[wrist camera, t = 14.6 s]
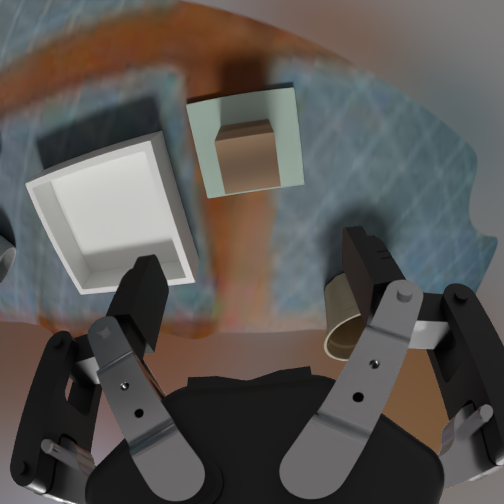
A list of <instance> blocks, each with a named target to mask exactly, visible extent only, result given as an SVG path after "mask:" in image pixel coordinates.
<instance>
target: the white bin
mask: <svg viewBox="0 0 504 504" xmlns="http://www.w3.org/2000/svg"><path fill="white" fill-rule="evenodd" d="M25 184H26V187H27V189H28V192H29V194H30V197H31V199H32V201H33V204H34V206H35V208H36V211H37V213H38V215H39V217H40V219H41V221H42V224H43V226H44V228H45V230H46V232H47V234H48V236H49V238H50V240H51V242H52V244H53V246H54V248H55V250H56V252H57V254H58V255H59V257H60V259H61V261H62V263H63V265H64V266H65V268H66V270H67V272H68V274H69V275H70V277H71V279H72V280H73V282H74V284H75V286H76V287H77V289H78V291H79V292H80V294H92V293H102V292H112V291H116V290H117V288H118V287H119V283H120V281H121V279H122V277H123V276H124V275H125V274H126V272H127V271H128V270H129V269H133V266H134V264H135V262H136V260H137V258H138V257H139V256H145V255H152V254H155V255H156V256H157V258H158V260H159V263H160V265H161V268H162V270H163V272H164V275H165V277H166V280H167V282H168V286H169V285H177V284H186V283H195V280H196V275H197V270H198V265H199V258H198V254H197V251H196V248H195V245H194V242H193V238H192V235H191V232H190V229H189V225H188V222H187V219H186V215H185V212H184V208H183V205H182V202H181V198H180V195H179V191H178V188H177V184H176V180H175V177H174V173H173V170H172V166H171V162H170V159H169V155H168V151H167V147H166V143H165V139H164V136H163V132H162V131H158V132H154V133H150V134H147V135H143V136H139V137H136V138H132V139H129V140H126V141H122V142H119V143H116V144H113V145H110V146H106V147H103V148H100V149H97V150H94V151H92V152H89V153H86V154H83V155H80V156H78V157H75V158H72V159H70V160H67V161H64V162H62V163H59V164H57V165H54V166H52V167H49V168H47V169H45V170H43V171H41V172H40V173H39V174H37V175H36V176H35V177H33V178H32V179H31V180H29V181H28V182H27V183H25Z"/></svg>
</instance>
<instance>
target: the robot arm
mask: <svg viewBox="0 0 504 504" xmlns="http://www.w3.org/2000/svg"><path fill="white" fill-rule="evenodd" d="M342 264H343V269H344V272H345V275H346V277H347V280H348V283H349V285H350V288H351V290H352V293H353V295H354V298H355V301H356V303H357V306H358V309H359V312H360V314H361V317H362V320H363V323H364V325H365V329H364V331H363V333H362V335H361V337H360V339H359V341H358V343H357V344H356V346H355V348H354V350H353V352H352V354H351V356H350V358H349V359H348V361H347V363H346V365H345V367H344V368H343V370H342V372H341V374H340V376H339V377H338V379H337V381H336V380H334V379H332V378H328V377H325V376H320V375H311V369H310V366H308V367H301V368H294V369H286V370H279V371H276V372H273V373H270V374H267V375H264V376H261V377H259V378H255V379H253V380H247V381H245V380H238V379H231V378H225V377H219V376H210V377H188V384H187V386H186V387H183V388H180V389H178V390H176V391H174V392H172V393H170V394H169V395H166V394H165V393H164V391H163V390H162V388H161V387H160V385H159V383H158V382H157V380H156V379H155V377H154V376H153V374H152V372H151V371H150V369H149V368H148V366H147V364H146V362H145V361H144V360H143V356H144V353H154V352H155V347H156V342H157V338H158V334H159V330H160V326H161V322H162V317H163V313H164V309H165V305H166V301H167V298H168V293H169V288H168V282H167V280H166V277H165V275H164V272H163V270H162V268H161V265H160V263H159V260H158V258H157V256H156V255H155V254H152V255H145V256H139V257H138V258H137V260H136V262H135V264H134V266H133V269H129V270H128V271H127V272H126V274H125V275H124V276H123V277H122V279H121V281H120V283H119V287H118V288H117V290H116V294H115V295H114V297H113V300H112V302H111V304H110V307H109V309H108V312H107V314H106V316H105V317H102V318H100V319H98V320H96V321H95V322H94V323H93V324H92V325H91V326H90V328H89V330H88V334H85V335H82V336H79V337H76V338H73V337H72V336H71V334H70V333H69V332H67V331H60V332H57V333H56V334H54V335H53V336H52V337H51V338H50V339H49V341H48V342H47V345H46V347H45V350H44V352H43V355H42V357H41V360H40V362H39V365H38V368H37V371H36V373H35V376H34V379H33V382H32V385H31V388H30V391H29V394H28V397H27V400H26V404H25V407H24V410H23V413H22V417H21V421H20V424H19V428H18V432H17V436H16V441H15V445H14V449H13V454H12V458H11V464H10V472H11V476H12V478H13V480H14V481H15V482H16V483H17V484H18V485H20V486H22V487H24V488H26V489H29V490H31V491H33V492H35V493H36V494H38V495H41V496H43V497H46V498H48V499H51V500H53V501H56V502H61V503H64V504H439V500H440V497H441V495H442V491H443V490H445V489H448V488H450V487H453V486H455V485H457V484H460V483H462V482H464V481H467V480H470V481H476V480H479V479H481V478H483V477H485V476H487V475H489V474H491V473H493V472H495V471H497V470H499V469H501V468H503V467H504V346H503V344H502V342H501V340H500V338H499V336H498V334H497V332H496V331H495V328H494V326H493V325H492V323H491V321H490V319H489V317H488V316H487V314H486V312H485V310H484V308H483V307H482V305H481V303H480V302H479V300H478V298H477V297H476V295H475V293H474V292H473V291H472V290H471V289H470V288H469V287H467V286H465V285H463V284H457V283H455V284H450V285H448V286H447V287H446V288H445V290H444V293H443V294H432V293H424V292H422V290H421V288H420V287H419V286H418V285H417V284H415V283H413V282H411V281H408V280H406V279H405V277H404V275H403V274H402V272H401V270H400V269H399V267H398V265H397V264H396V262H395V260H394V259H393V258H392V255H391V254H390V252H389V251H388V249H387V247H386V246H385V244H384V243H383V242H382V241H381V240H380V239H378V238H377V237H375V236H367V234H366V232H365V231H364V229H363V227H362V226H353V227H345V228H343V242H342ZM408 348H415V349H426V350H427V353H428V356H429V358H430V361H431V364H432V367H433V370H434V372H435V375H436V379H437V382H438V385H439V388H440V391H441V394H442V397H443V401H444V404H445V408H446V411H447V415H448V418H449V422H448V423H447V424H446V425H445V427H444V428H443V431H442V434H441V443H442V446H441V451H440V454H439V455H438V456H437V454H436V453H435V452H434V451H433V450H432V449H431V448H429V447H428V446H426V445H425V444H423V443H422V442H420V441H419V440H418V439H416V438H415V437H413V436H412V435H411V434H409V433H408V432H406V431H405V430H404V429H403V428H401V427H400V426H398V425H397V424H396V423H394V422H393V421H392V420H390V419H389V418H387V417H386V416H385V415H383V414H382V413H381V412H382V410H383V408H384V406H385V403H386V401H387V399H388V397H389V395H390V392H391V390H392V388H393V385H394V383H395V381H396V378H397V375H398V373H399V370H400V368H401V365H402V363H403V360H404V357H405V355H406V352H407V349H408ZM69 377H70V378H71V379H72V380H73V383H72V387H71V390H70V394H69V397H68V401H67V400H66V397H65V389H66V385H67V382H68V379H69ZM102 389H103V392H104V394H105V396H106V398H107V401H108V403H109V405H110V407H111V410H112V412H113V414H114V416H115V418H116V421H117V423H118V425H119V427H120V429H121V431H122V433H123V435H124V437H125V438H124V440H122V442H120V444H119V445H118V446H117V447H116V448H115V449H114V450H113V451H112V452H111V453H110V454H109V455H108V456H107V457H106V458H105V459H104V460H103V461H102V462H101V463H100V464H99V465H98V466H97V467H96V466H95V463H94V459H93V457H92V455H91V447H92V440H93V434H94V429H95V423H96V417H97V412H98V407H99V401H100V397H101V393H102Z"/></svg>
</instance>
